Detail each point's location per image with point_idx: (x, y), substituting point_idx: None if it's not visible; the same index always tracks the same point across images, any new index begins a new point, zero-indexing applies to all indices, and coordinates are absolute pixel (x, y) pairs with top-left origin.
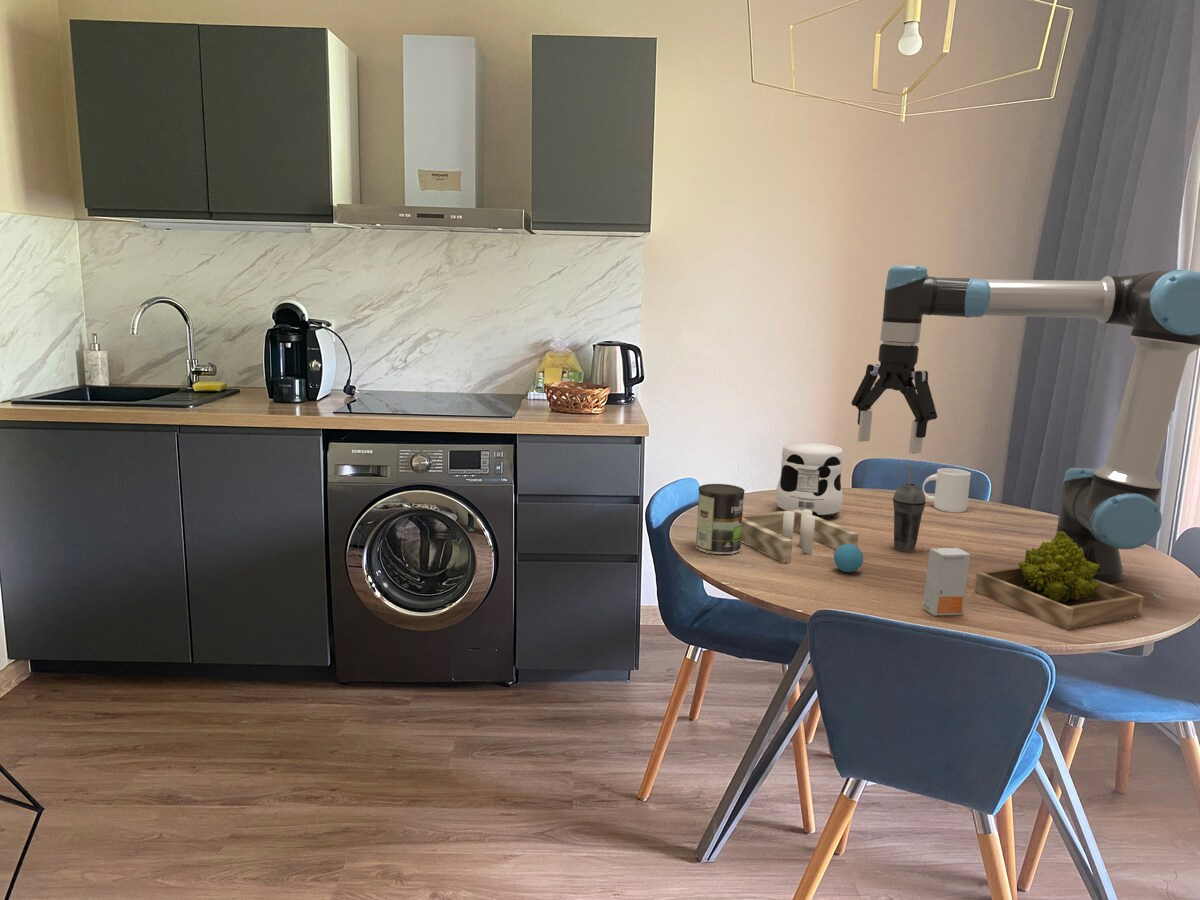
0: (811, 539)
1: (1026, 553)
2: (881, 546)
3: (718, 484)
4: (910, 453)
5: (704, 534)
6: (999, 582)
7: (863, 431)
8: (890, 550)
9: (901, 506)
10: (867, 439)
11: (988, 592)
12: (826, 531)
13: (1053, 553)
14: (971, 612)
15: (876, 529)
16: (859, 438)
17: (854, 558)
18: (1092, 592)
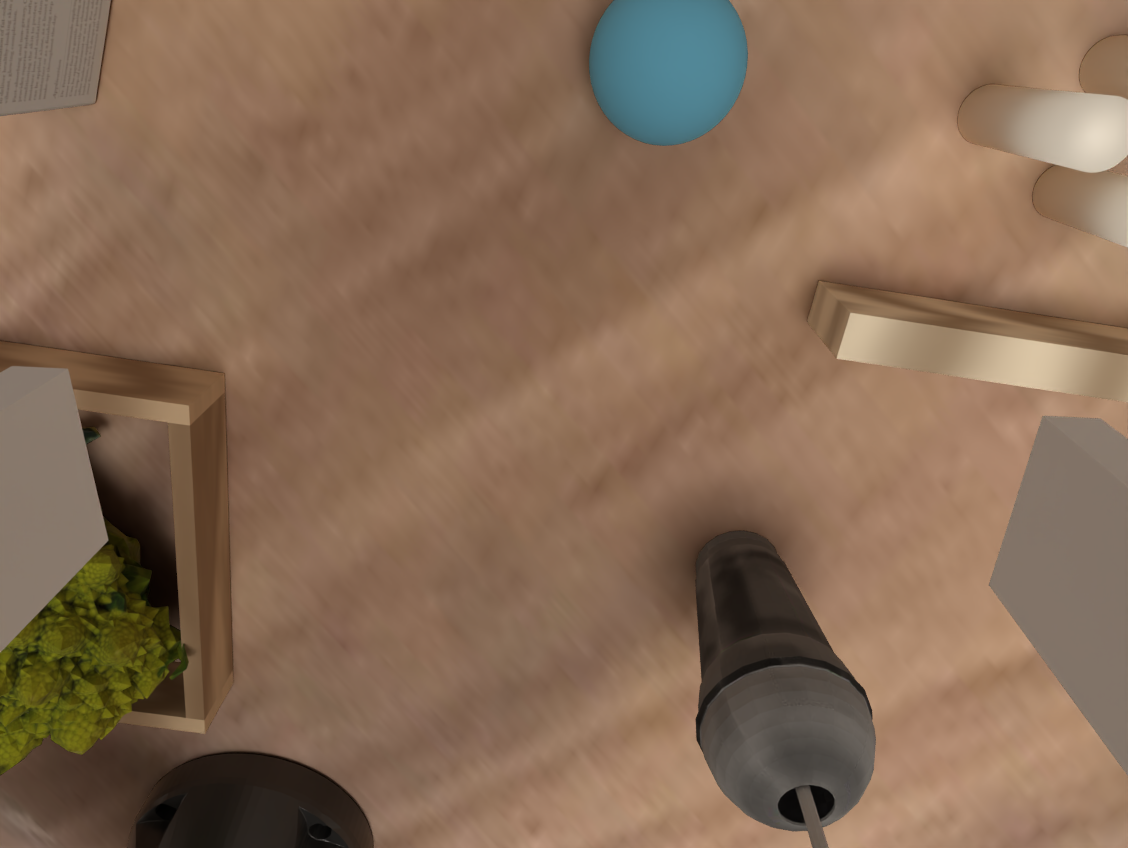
0: (995, 119)
1: (118, 638)
2: (817, 515)
3: None
4: (34, 367)
5: None
6: None
7: (1122, 547)
8: (758, 504)
9: (773, 649)
10: (1011, 563)
11: (149, 371)
12: (1033, 330)
13: None
14: (24, 137)
15: (977, 677)
16: (1094, 438)
17: (599, 28)
18: None
